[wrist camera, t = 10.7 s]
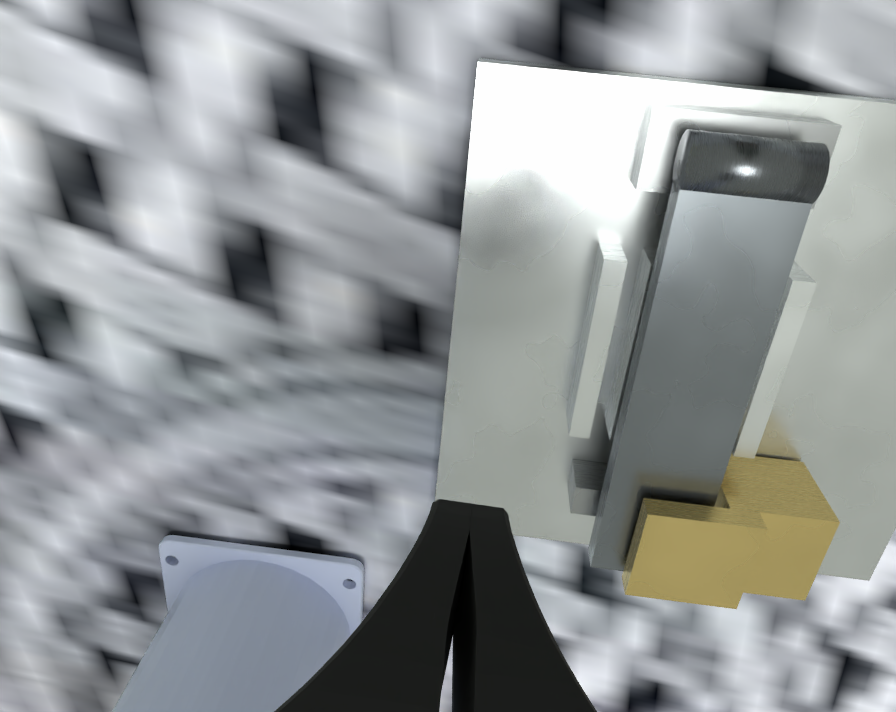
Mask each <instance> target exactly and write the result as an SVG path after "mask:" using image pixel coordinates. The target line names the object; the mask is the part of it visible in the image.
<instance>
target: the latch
mask: <svg viewBox="0 0 896 712" xmlns="http://www.w3.org/2000/svg"><path fill="white" fill-rule="evenodd" d="M839 524H840V521H839V520H838V518H837V516H836V515H835V513H834V511H833V510H832V508H831V506H830V505H829V503H828V502H827V500H826V498H825V497H824V495H823V493H822V492H821V490H820V488H819V487H818V485H817V484H816V482H815V480H814V479H813V477H812V475H811V474H810V472H809V470H808V469H807V467H806V466H805V464H804V462H799V461H791V460H782V459H774V458H766V457H758V456H755V458H754V459H752V458H744V457H736V456H733V454H732V453H731V456H730V459H729V463H728V466H727V469H726V472H725V475H724V478H723V481H722V484H721V487H720V490H719V493H718V496H717V500H716V503H715V506H714V507H713V506H705V505H697V504H689V503H681V502H673V501H665V500H657V499H649V498H643V502H642V506H641V509H640V513H639V517H638V520H637V524H636V527H635V531H634V535H633V538H632V542H631V546H630V549H629V553H628V556H627V560H626V564H625V567H624V571H623V575H622V580H623V585H624V591H625V595H633V596H640V597H648V598H656V599H663V600H671V601H679V602H686V603H694V604H702V605H709V606H717V607H725V608H732V609H737V606H738V604H739V601H740V599H741V596H742V594H743V592H744V593H752V594H760V595H767V596H775V597H783V598H791V599H798V600H805V599H806V597H807V595H808V592H809V590H810V588H811V586H812V584H813V581H814V579H815V577H816V575H817V572H818V570H819V568H820V566H821V564H822V561H823V559H824V557H825V555H826V553H827V550H828V548H829V546H830V544H831V542H832V539H833V537H834V535H835V533H836V530H837V528H838V526H839Z"/></svg>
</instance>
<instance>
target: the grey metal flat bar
mask: <svg viewBox="0 0 896 712" xmlns="http://www.w3.org/2000/svg"><path fill="white" fill-rule="evenodd" d="M829 165H830V155H829V150H828V147H827V146H826V145H825V144H824V143H816V142H806V141H797V140H787V139H777V138H768V137H758V136H748V135H739V134H729V133H719V132H710V131H700V130H690V129H687V130H686V131H685V132H684V134H683V135H682V138H681V140H680V143H679V145H678V149H677V152H676V157H675V162H674V168H673V183H672V187H671V192H670V196H669V200H668V205H667V209H666V213H665V218H664V222H663V226H662V231H661V235H660V239H659V244H658V248H657V252H656V257H655V261H654V265H653V270H652V274H651V278H650V283H649V287H648V291H647V296H646V300H645V304H644V309H643V313H642V317H641V322H640V326H639V330H638V335H637V339H636V343H635V348H634V352H633V356H632V361H631V365H630V369H629V374H628V378H627V382H626V387H625V391H624V395H623V400H622V404H621V409H620V413H619V417H618V422H617V426H616V430H615V435H614V439H613V443H612V448H611V452H610V456H609V461H608V465H607V469H606V474H605V478H604V482H603V487H602V491H601V495H600V500H599V504H598V508H597V513H596V517H595V521H594V526H593V530H592V534H591V539H590V543H589V547H588V551H589V559H590V566H591V567H596V568H604V569H611V570H619V571H624V567H625V564H626V560H627V556H628V553H629V549H630V546H631V542H632V538H633V535H634V531H635V527H636V524H637V520H638V517H639V513H640V509H641V506H642V502H643V498H649V499H657V500H665V501H673V502H681V503H689V504H697V505H705V506H713V507H714V506H715V503H716V500H717V496H718V493H719V490H720V487H721V484H722V481H723V478H724V475H725V472H726V469H727V466H728V463H729V459H730V456H731V453H732V450H733V447H734V444H735V441H736V438H737V435H738V432H739V429H740V426H741V423H742V419H743V416H744V413H745V410H746V407H747V404H748V401H749V398H750V395H751V392H752V389H753V386H754V382H755V379H756V376H757V373H758V370H759V367H760V364H761V361H762V358H763V355H764V352H765V349H766V345H767V342H768V339H769V336H770V333H771V330H772V327H773V324H774V321H775V318H776V315H777V312H778V309H779V305H780V302H781V299H782V296H783V293H784V290H785V287H786V284H787V281H788V278H789V275H790V272H791V268H792V265H793V262H794V259H795V256H796V253H797V250H798V247H799V244H800V241H801V238H802V235H803V232H804V228H805V225H806V222H807V219H808V216H809V213H810V210H811V207H812V204H813V203H814V202H815V201H816V200H817V199H818V197H819V196H820V194H821V192H822V190H823V188H824V186H825V183H826V180H827V176H828V172H829Z"/></svg>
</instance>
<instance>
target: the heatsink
mask: <svg viewBox="0 0 896 712" xmlns="http://www.w3.org/2000/svg"><path fill="white" fill-rule="evenodd" d="M687 129H690V130H700V131H710V132H719V133H729V134H739V135H748V136H758V137H768V138H777V139H787V140H797V141H806V142H816V143H824V144H825V145H826V146H827V147H828V150H829V155H830V165H829V172H828V176H827V180H826V183H825V186H824V188H823V190H822V192H821V194H820V196H819V197H818V199H817V200H816V201H815V202H814V203H813V204H812V207H811V210H810V213H809V216H808V219H807V222H806V225H805V228H804V232H803V235H802V238H801V241H800V244H799V247H798V250H797V253H796V256H795V259H794V262H793V265H792V268H791V272H790V275H789V278H788V281H787V284H786V287H785V290H784V293H783V296H782V299H781V302H780V305H779V309H778V312H777V315H776V318H775V321H774V324H773V327H772V330H771V333H770V336H769V339H768V342H767V345H766V349H765V352H764V355H763V358H762V361H761V364H760V367H759V370H758V373H757V376H756V379H755V382H754V386H753V389H752V392H751V395H750V398H749V401H748V404H747V407H746V410H745V413H744V416H743V419H742V423H741V426H740V429H739V432H738V435H737V438H736V441H735V444H734V447H733V450H732V454H733V456H736V457H744V458H752V459H754V458H755V456H758V457H766V458H774V459H782V460H791V461H799V462H804V464H805V466H806V467H807V469H808V470H809V472H810V474H811V475H812V477H813V479H814V480H815V482H816V484H817V485H818V487H819V488H820V490H821V492H822V493H823V495H824V497H825V498H826V500H827V502H828V503H829V505H830V506H831V508H832V510H833V511H834V513H835V515H836V516H837V518H838V520H839V521H840V524H839V526H838V528H837V530H836V533H835V535H834V537H833V539H832V542H831V544H830V546H829V548H828V550H827V553H826V555H825V557H824V559H823V561H822V564H821V566H820V568H819V570H818V572H817V574H821V575H829V576H837V577H845V578H853V579H860V580H868V581H869V580H870V578H871V576H872V574H873V572H874V570H875V568H876V566H877V564H878V562H879V560H880V558H881V556H882V554H883V552H884V550H885V548H886V546H887V544H888V542H889V540H890V538H891V536H892V534H893V532H894V530H895V528H896V100H893V99H883V98H873V97H863V96H853V95H843V94H833V93H823V92H813V91H803V90H793V89H783V88H773V87H763V86H753V85H743V84H733V83H723V82H713V81H704V80H694V79H684V78H674V77H664V76H654V75H644V74H634V73H624V72H614V71H604V70H594V69H584V68H574V67H564V66H554V65H544V64H534V63H524V62H515V61H505V60H495V59H485V58H480V59H479V61H478V64H477V74H476V84H475V94H474V105H473V115H472V125H471V135H470V146H469V156H468V166H467V176H466V187H465V197H464V207H463V218H462V228H461V238H460V248H459V259H458V269H457V279H456V289H455V300H454V310H453V320H452V330H451V341H450V351H449V361H448V371H447V382H446V392H445V402H444V412H443V423H442V433H441V443H440V454H439V464H438V474H437V484H436V495H435V501H436V500H438V499H444V500H451V501H458V502H465V503H472V504H479V505H486V506H493V507H500V508H504V509H505V511H506V512H507V513H508V515H509V521H510V526H511V530H512V534H513V535H516V536H524V537H532V538H540V539H548V540H555V541H563V542H571V543H579V544H587V545H589V543H590V539H591V534H592V530H593V526H594V521H595V517H596V513H597V508H598V504H599V500H600V495H601V491H602V487H603V482H604V478H605V474H606V469H607V465H608V461H609V456H610V452H611V448H612V443H613V439H614V435H615V430H616V426H617V422H618V417H619V413H620V409H621V404H622V400H623V395H624V391H625V387H626V382H627V378H628V374H629V369H630V365H631V361H632V356H633V352H634V348H635V343H636V339H637V335H638V330H639V326H640V322H641V317H642V313H643V309H644V304H645V300H646V296H647V291H648V287H649V283H650V278H651V274H652V270H653V265H654V261H655V257H656V252H657V248H658V244H659V239H660V235H661V231H662V226H663V222H664V218H665V213H666V209H667V205H668V200H669V196H670V192H671V187H672V183H673V168H674V162H675V157H676V152H677V149H678V145H679V143H680V140H681V138H682V135H683V134H684V132H685V131H686V130H687Z"/></svg>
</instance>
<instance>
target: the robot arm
mask: <svg viewBox="0 0 896 712" xmlns="http://www.w3.org/2000/svg"><path fill="white" fill-rule="evenodd" d="M159 554H160V561H161V568H162V575H163V582H164V589H165V596H166V603H167V610H168V614H167V616H166V617H165V619H164V621H163V623H162V624H161V626H160V628H159V630H158V631H157V633H156V635H155V637H154V638H153V640H152V642H151V644H150V646H149V647H148V649H147V651H146V653H145V654H144V656H143V658H142V660H141V661H140V663H139V665H138V667H137V668H136V670H135V672H134V674H133V675H132V677H131V679H130V681H129V683H128V684H127V686H126V688H125V690H124V691H123V693H122V695H121V697H120V698H119V700H118V702H117V704H116V705H115V707H114V709H113V711H112V712H439V707H440V696H441V690H442V685H443V680H444V675H445V670H446V665H447V661H448V656H449V651H450V646H451V641H452V636H453V674H452V712H597V711H596V709H595V708H594V706H593V705H592V703H591V702H590V700H589V698H588V697H587V695H586V694H585V692H584V691H583V689H582V687H581V686H580V684H579V682H578V681H577V679H576V677H575V676H574V674H573V672H572V670H571V669H570V667H569V665H568V664H567V662H566V660H565V658H564V656H563V654H562V653H561V651H560V649H559V647H558V645H557V643H556V641H555V639H554V637H553V635H552V633H551V631H550V629H549V627H548V625H547V623H546V621H545V619H544V617H543V614H542V612H541V610H540V608H539V605H538V603H537V601H536V599H535V596H534V594H533V591H532V589H531V586H530V584H529V581H528V579H527V576H526V574H525V571H524V568H523V566H522V563H521V560H520V557H519V554H518V551H517V548H516V544H515V541H514V538H513V534H512V530H511V526H510V521H509V515H508V513H507V512H506V511H505V509H504V508H500V507H493V506H486V505H479V504H472V503H465V502H458V501H451V500H444V499H438V500H436V501H435V502H433V503H432V507H431V510H430V513H429V516H428V518H427V521H426V523H425V525H424V527H423V529H422V532H421V534H420V535H419V537H418V539H417V541H416V543H415V545H414V547H413V548H412V550H411V552H410V553H409V555H408V557H407V558H406V560H405V562H404V563H403V565H402V567H401V568H400V570H399V572H398V573H397V575H396V576H395V578H394V579H393V581H392V582H391V583H390V585H389V586H388V588H387V589H386V590H385V592H384V593H383V595H382V596H381V597H380V599H379V600H378V602H377V603H376V604H375V606H374V607H373V609H372V610H371V611H370V612H369V614H368V615H367V616H366V618H365V619H364V620H363V621H362V615H363V590H364V566H363V565H362V563H361V562H360V561H358V560H356V559H353V558H346V557H338V556H330V555H323V554H315V553H307V552H300V551H292V550H284V549H277V548H269V547H261V546H254V545H246V544H238V543H231V542H223V541H215V540H208V539H200V538H192V537H185V536H177V535H168V536H165V537H164V538H163V540H162V541H161V543H160V544H159ZM173 556H174V557H176V558H174V557H173ZM347 579H351V580H353V581H348V580H347Z"/></svg>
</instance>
